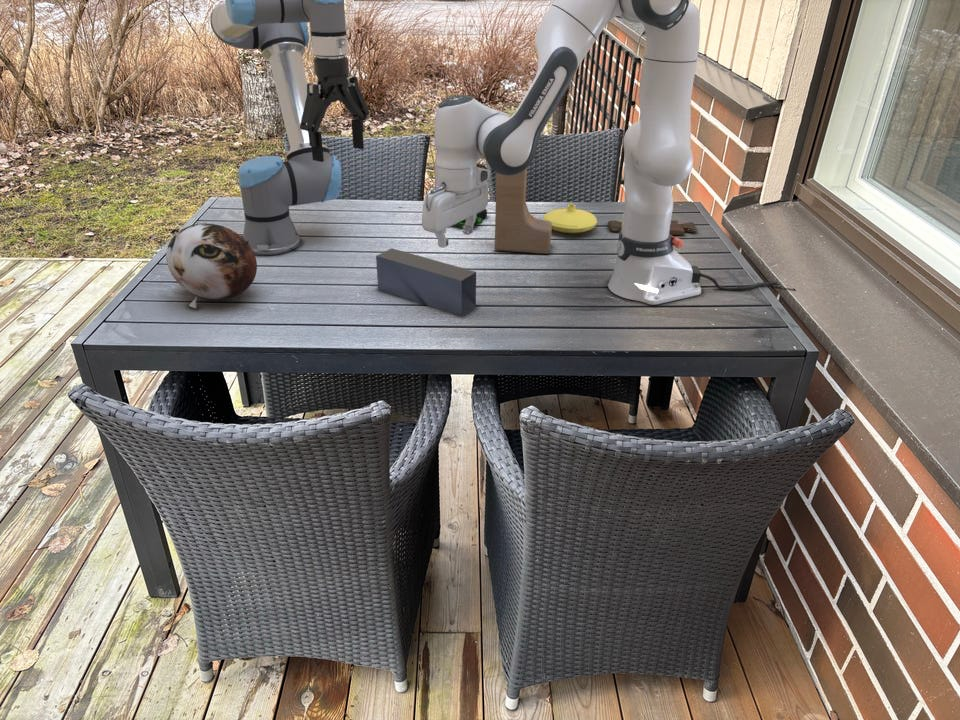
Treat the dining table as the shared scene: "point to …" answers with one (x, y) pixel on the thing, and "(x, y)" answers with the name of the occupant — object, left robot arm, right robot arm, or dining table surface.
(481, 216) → the handgun
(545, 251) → the decorative block
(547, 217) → the yellow lid
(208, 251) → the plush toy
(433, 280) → the bar
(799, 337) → the dining table surface
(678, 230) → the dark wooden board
